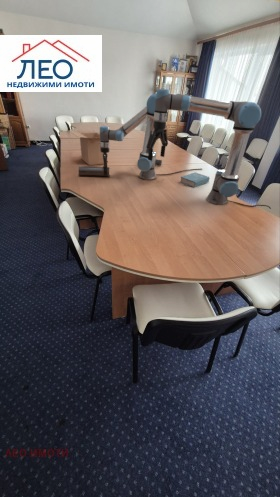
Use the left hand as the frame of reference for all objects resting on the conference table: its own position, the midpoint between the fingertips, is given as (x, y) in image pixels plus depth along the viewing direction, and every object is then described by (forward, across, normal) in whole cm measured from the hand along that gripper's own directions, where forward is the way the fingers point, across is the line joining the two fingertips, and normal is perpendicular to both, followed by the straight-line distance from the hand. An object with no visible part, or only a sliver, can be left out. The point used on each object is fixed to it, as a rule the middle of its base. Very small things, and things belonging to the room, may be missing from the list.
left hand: (105, 172), depth 199 cm
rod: (+3, 0, -10) cm, 11 cm away
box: (+3, -46, -14) cm, 49 cm away
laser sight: (+4, -41, +47) cm, 63 cm away
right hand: (-27, +54, +35) cm, 70 cm away
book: (+4, +11, +80) cm, 81 cm away
